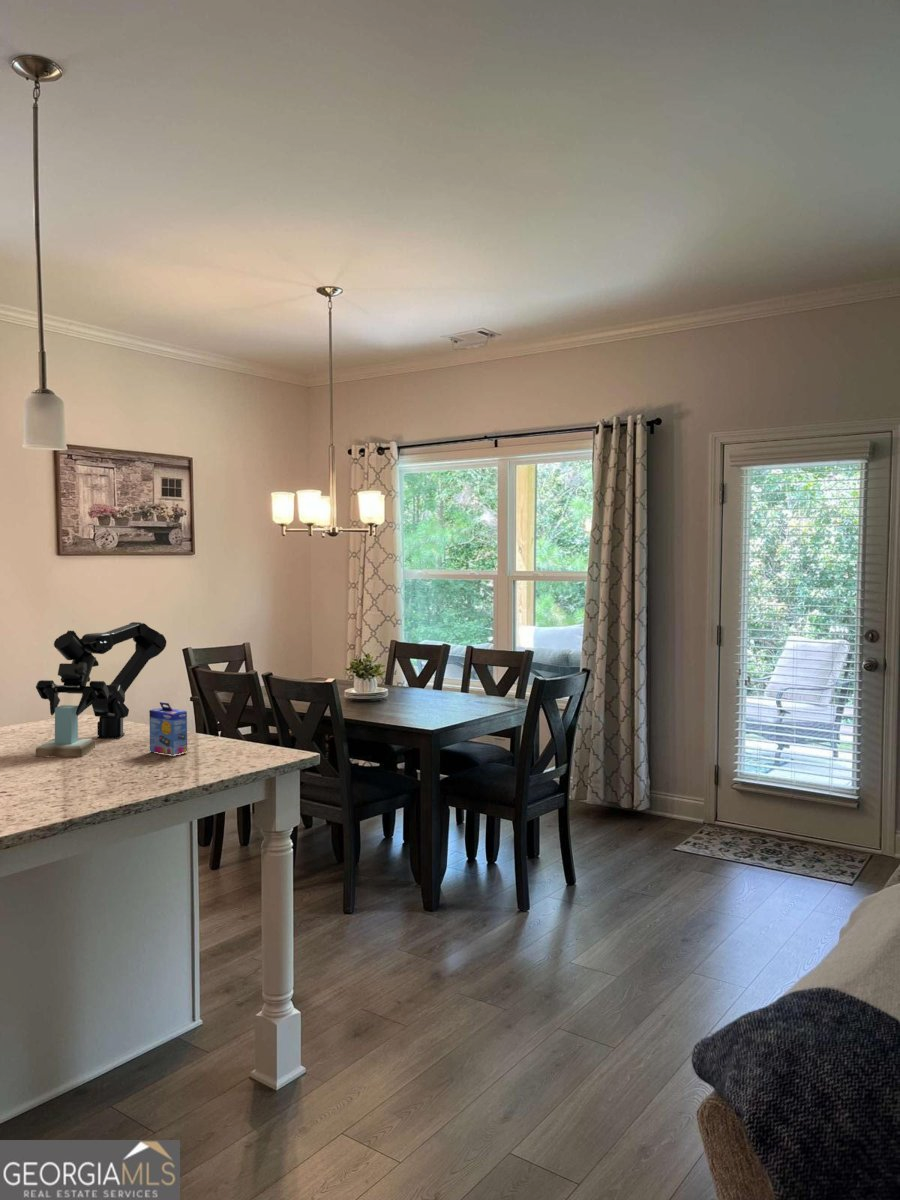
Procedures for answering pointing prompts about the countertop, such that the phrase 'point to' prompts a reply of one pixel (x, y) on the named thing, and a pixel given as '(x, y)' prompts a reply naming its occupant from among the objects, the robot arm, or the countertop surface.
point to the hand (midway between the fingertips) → (64, 714)
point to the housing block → (66, 724)
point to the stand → (65, 748)
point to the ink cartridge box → (168, 730)
